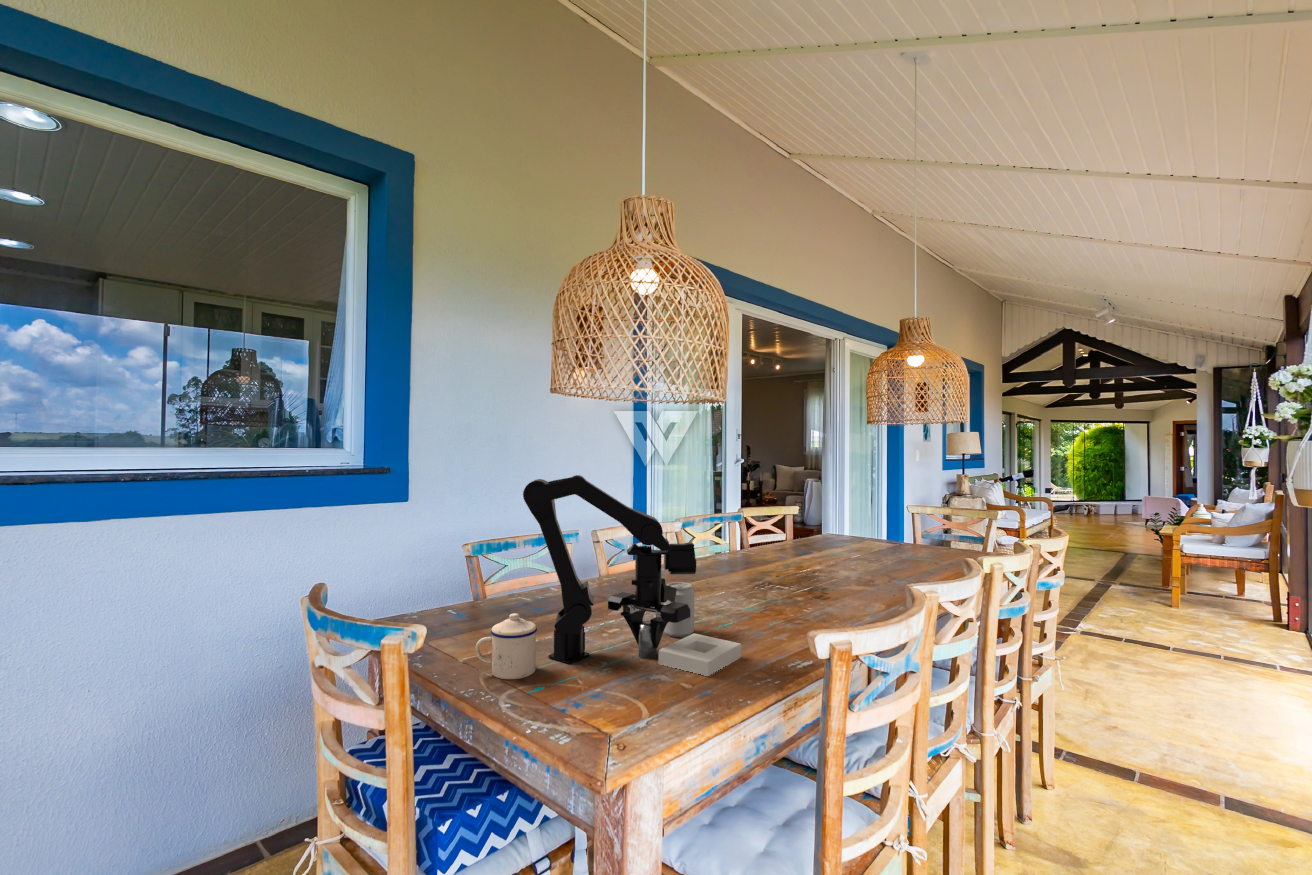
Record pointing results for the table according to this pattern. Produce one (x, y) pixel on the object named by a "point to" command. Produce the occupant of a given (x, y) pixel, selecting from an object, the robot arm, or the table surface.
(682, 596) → the can
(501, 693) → the table surface
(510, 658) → the teacup with lid
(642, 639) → the grey metal cylinder
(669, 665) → the block
